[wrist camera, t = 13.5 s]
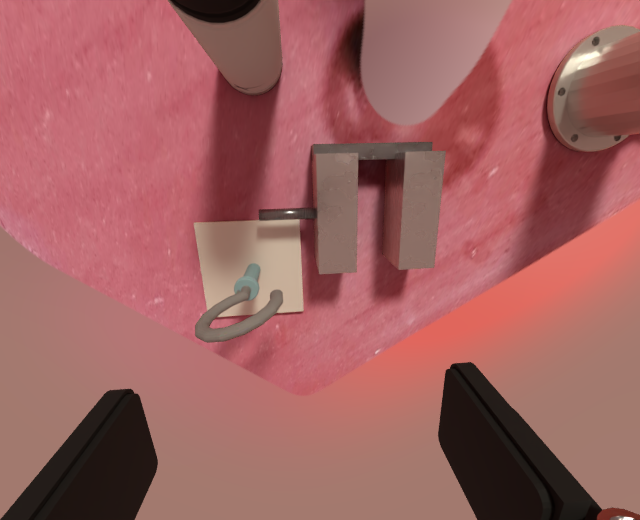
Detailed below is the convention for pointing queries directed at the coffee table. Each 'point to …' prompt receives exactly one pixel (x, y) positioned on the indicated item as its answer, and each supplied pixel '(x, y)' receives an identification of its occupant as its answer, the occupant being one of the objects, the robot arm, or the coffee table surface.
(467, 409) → the robot arm
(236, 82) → the travel mug
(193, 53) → the coffee table surface
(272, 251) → the mat
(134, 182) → the coffee table surface
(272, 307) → the hook
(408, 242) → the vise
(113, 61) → the coffee table surface
